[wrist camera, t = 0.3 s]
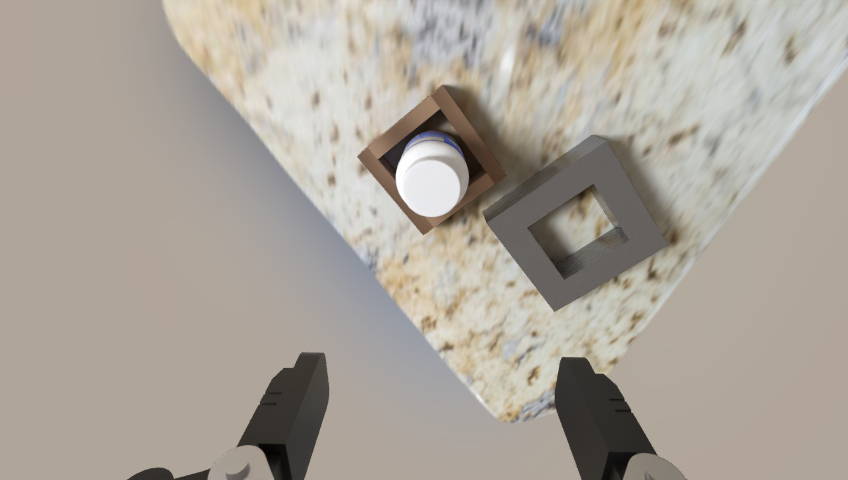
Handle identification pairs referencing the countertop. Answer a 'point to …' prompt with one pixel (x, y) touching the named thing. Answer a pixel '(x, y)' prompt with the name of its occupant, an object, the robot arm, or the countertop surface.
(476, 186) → the walnut stand
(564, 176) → the steel block
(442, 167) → the pill bottle
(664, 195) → the countertop surface
